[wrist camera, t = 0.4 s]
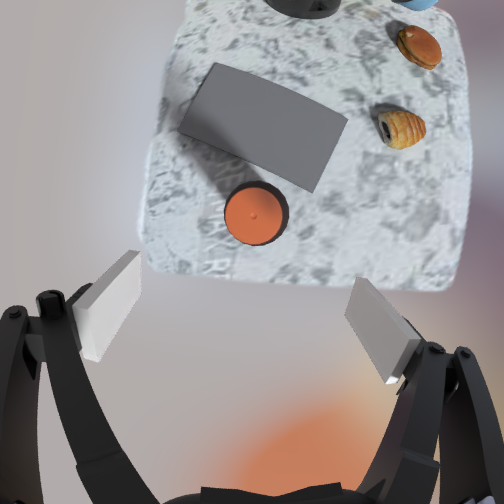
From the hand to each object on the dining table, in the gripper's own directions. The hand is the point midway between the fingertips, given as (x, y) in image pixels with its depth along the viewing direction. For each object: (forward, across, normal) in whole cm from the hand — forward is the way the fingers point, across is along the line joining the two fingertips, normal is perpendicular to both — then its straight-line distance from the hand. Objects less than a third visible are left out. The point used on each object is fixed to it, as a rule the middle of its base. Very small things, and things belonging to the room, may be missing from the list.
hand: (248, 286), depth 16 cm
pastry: (+28, +24, +18) cm, 41 cm away
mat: (+30, +1, +14) cm, 33 cm away
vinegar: (+28, +3, 0) cm, 28 cm away
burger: (+30, +29, +38) cm, 57 cm away
